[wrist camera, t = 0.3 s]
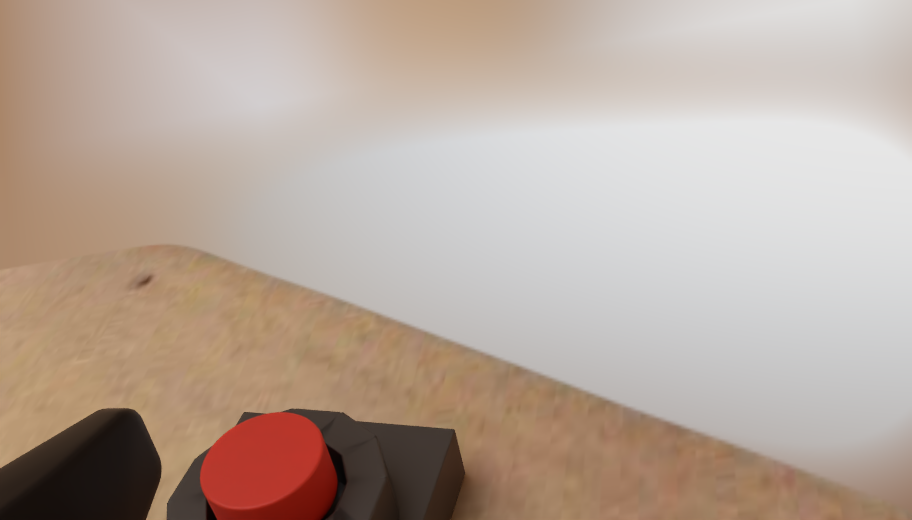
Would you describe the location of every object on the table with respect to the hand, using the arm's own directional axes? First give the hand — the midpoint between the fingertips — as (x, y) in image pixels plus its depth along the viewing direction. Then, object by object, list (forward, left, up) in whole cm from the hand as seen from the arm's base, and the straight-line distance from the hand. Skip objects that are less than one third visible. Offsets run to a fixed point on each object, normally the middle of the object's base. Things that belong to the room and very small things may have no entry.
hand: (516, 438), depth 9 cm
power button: (+8, +10, -12) cm, 18 cm away
